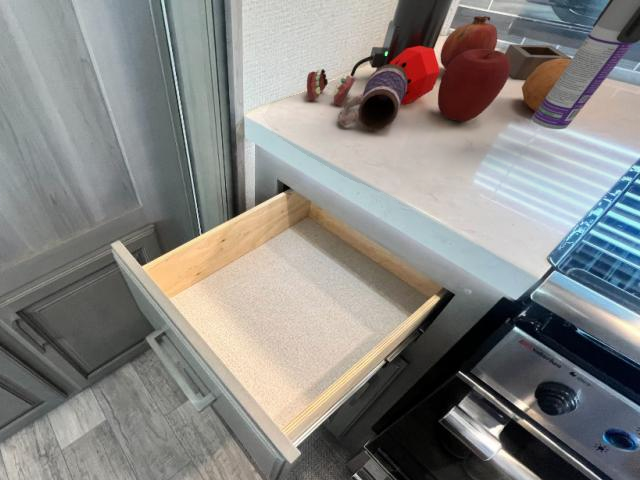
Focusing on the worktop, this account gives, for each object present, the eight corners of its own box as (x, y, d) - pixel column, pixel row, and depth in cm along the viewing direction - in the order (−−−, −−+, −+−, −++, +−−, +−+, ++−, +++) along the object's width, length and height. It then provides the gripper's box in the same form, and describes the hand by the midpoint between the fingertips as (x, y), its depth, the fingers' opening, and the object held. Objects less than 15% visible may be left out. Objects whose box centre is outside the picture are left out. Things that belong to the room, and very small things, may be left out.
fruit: (457, 86, 68) (485, 25, 60) (422, 71, 73) (444, 13, 65) (492, 78, 71) (524, 18, 63) (456, 64, 76) (481, 8, 68)
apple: (416, 115, 59) (443, 48, 51) (445, 101, 62) (474, 37, 55) (465, 134, 54) (503, 63, 46) (493, 118, 58) (533, 50, 50)
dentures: (353, 77, 57) (305, 71, 60) (346, 107, 61) (301, 100, 64) (360, 69, 61) (314, 64, 64) (353, 97, 65) (310, 91, 67)
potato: (568, 104, 62) (602, 58, 56) (570, 128, 56) (608, 78, 50) (514, 95, 65) (541, 49, 59) (510, 116, 59) (540, 68, 53)
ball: (374, 71, 62) (409, 41, 55) (400, 64, 65) (437, 35, 58) (387, 112, 63) (423, 88, 56) (412, 104, 66) (450, 80, 59)
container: (557, 116, 49) (660, -21, 37) (573, 130, 46) (690, -13, 34) (526, 114, 49) (617, -22, 38) (539, 128, 47) (643, -14, 35)
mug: (408, 56, 55) (400, 83, 48) (408, 101, 59) (401, 130, 53) (347, 74, 60) (332, 100, 53) (351, 114, 65) (338, 142, 58)
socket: (513, 78, 70) (526, 56, 67) (498, 65, 76) (509, 44, 72) (556, 80, 70) (571, 58, 66) (538, 66, 75) (551, 45, 72)
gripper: (694, -212, 31) (554, 19, 44) (844, -249, 22) (613, 52, 36) (781, -214, 30) (612, 21, 44) (970, -251, 22) (687, 56, 35)
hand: (614, 34), depth 40 cm, fingers closed on container, 4 cm apart
